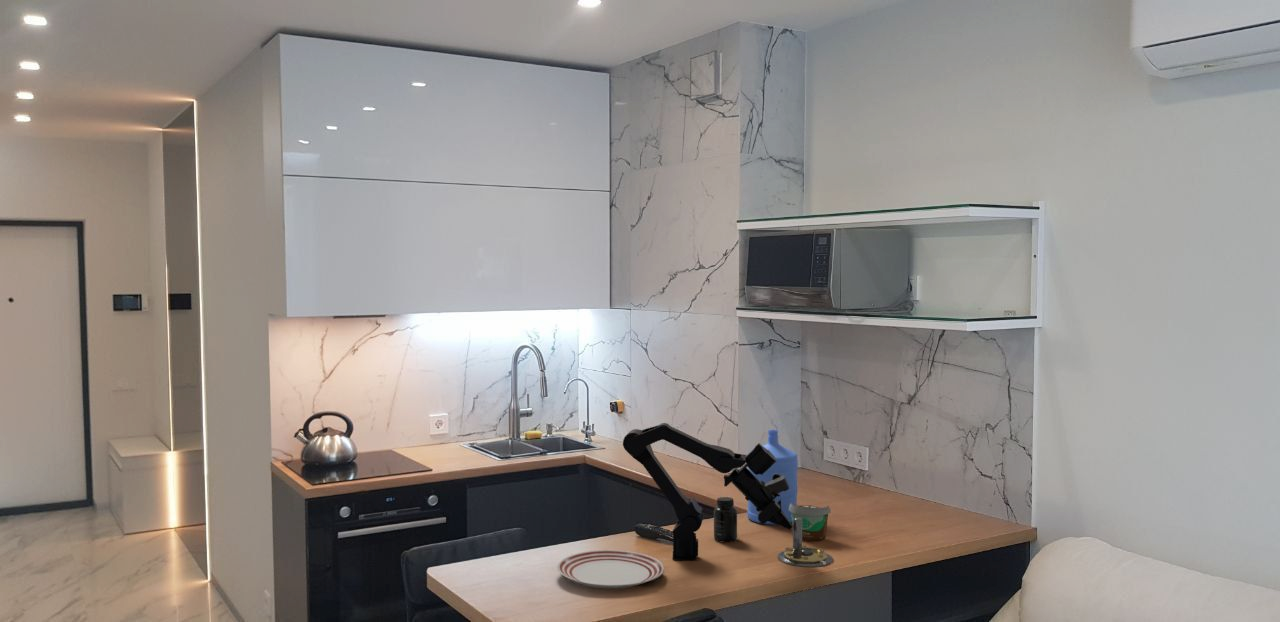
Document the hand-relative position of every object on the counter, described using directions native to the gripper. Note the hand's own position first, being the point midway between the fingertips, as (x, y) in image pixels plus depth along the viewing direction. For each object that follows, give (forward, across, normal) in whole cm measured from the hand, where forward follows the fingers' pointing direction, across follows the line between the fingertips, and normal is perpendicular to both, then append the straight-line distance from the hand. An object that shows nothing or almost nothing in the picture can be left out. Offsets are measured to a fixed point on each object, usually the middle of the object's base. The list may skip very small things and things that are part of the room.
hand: (791, 528), depth 264 cm
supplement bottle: (-7, +19, +20) cm, 29 cm away
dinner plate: (-26, -20, +39) cm, 51 cm away
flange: (+9, +4, +4) cm, 11 cm away
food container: (+10, +23, +3) cm, 25 cm away
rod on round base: (+9, +4, +4) cm, 11 cm away
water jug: (+3, +44, +11) cm, 46 cm away
